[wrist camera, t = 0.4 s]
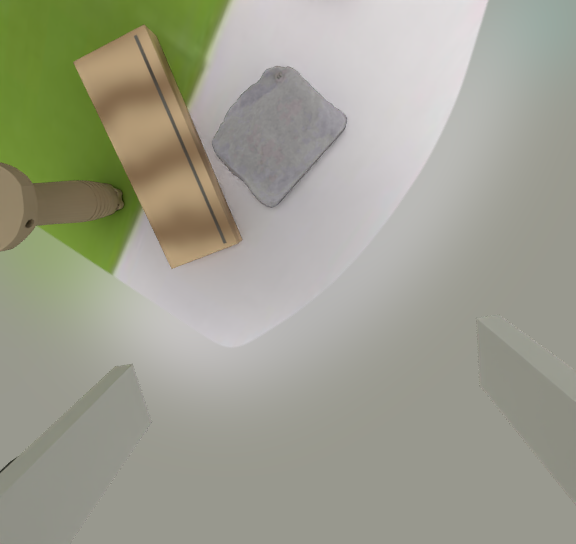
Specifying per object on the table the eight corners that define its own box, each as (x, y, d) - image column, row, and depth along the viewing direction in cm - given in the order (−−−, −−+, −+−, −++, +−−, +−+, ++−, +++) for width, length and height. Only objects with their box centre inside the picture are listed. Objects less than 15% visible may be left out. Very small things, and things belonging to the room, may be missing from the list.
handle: (83, 213, 39) (-53, 230, 25) (102, 162, 38) (-31, 148, 23) (121, 234, 39) (8, 262, 25) (141, 184, 38) (33, 184, 23)
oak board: (89, 70, 35) (72, 61, 33) (156, 35, 34) (143, 24, 31) (180, 263, 40) (171, 269, 37) (242, 239, 38) (237, 243, 36)
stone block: (215, 156, 38) (278, 215, 37) (195, 144, 34) (267, 211, 33) (284, 67, 36) (354, 128, 35) (273, 41, 31) (353, 111, 30)
